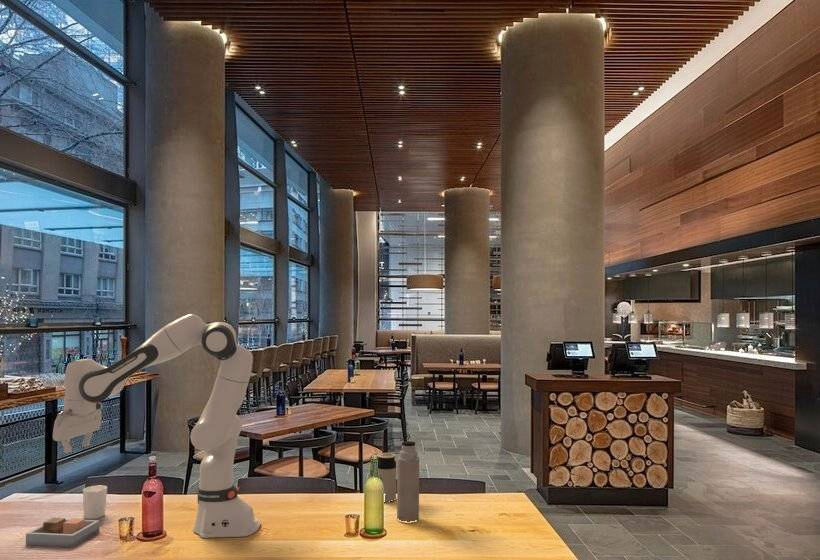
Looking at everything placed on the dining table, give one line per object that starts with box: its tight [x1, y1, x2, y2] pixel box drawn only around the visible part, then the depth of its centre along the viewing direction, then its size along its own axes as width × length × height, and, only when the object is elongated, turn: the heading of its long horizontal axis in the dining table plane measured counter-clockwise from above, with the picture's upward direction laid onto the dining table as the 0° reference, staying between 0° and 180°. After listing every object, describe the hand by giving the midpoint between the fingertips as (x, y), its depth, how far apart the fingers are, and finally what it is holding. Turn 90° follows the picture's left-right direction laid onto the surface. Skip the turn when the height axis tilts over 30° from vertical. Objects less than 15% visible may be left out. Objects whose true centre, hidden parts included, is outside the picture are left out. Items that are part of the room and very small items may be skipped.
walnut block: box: [42, 517, 66, 534], centre depth 198 cm, size 4×4×4 cm
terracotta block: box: [63, 518, 86, 534], centre depth 197 cm, size 4×4×4 cm
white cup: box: [82, 484, 108, 520], centre depth 219 cm, size 8×8×10 cm
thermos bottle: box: [396, 440, 420, 522], centre depth 218 cm, size 8×8×28 cm
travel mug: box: [377, 452, 397, 502], centre depth 240 cm, size 8×8×18 cm
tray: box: [25, 518, 101, 548], centre depth 198 cm, size 16×14×4 cm
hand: (76, 449), depth 199 cm, fingers open, 8 cm apart
